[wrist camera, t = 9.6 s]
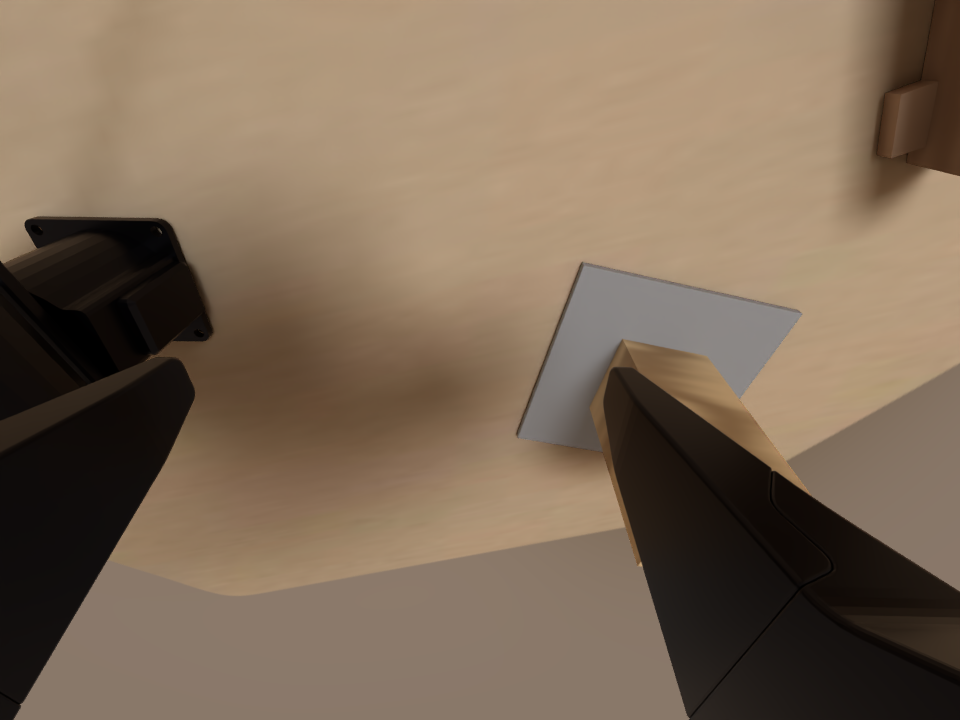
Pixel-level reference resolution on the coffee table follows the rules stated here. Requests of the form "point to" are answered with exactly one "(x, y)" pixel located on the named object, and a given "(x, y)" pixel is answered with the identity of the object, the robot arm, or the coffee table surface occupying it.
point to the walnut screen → (929, 101)
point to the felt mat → (646, 319)
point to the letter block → (698, 391)
